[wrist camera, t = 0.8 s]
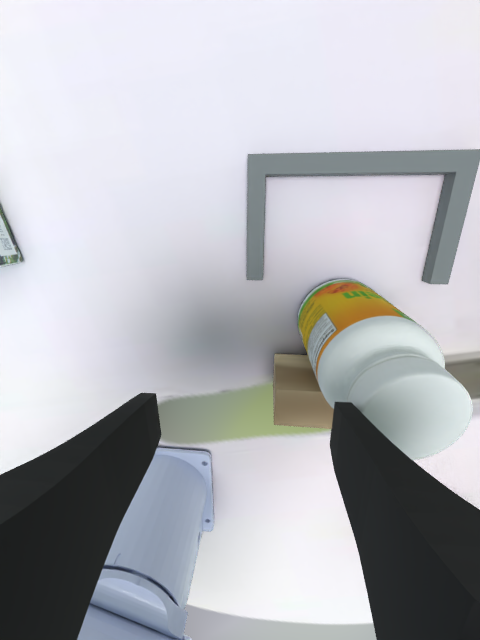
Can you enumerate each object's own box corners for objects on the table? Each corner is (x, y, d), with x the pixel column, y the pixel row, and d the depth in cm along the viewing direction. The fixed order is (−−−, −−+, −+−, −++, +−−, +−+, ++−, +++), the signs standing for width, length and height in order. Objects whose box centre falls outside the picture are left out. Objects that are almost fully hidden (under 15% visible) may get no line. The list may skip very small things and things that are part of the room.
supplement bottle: (393, 291, 18) (533, 381, 9) (355, 360, 20) (439, 487, 11) (315, 266, 18) (383, 335, 9) (284, 339, 20) (314, 456, 11)
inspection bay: (438, 280, 18) (448, 284, 17) (247, 276, 19) (246, 279, 18) (469, 153, 15) (482, 149, 14) (249, 157, 16) (247, 154, 16)
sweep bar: (384, 389, 20) (413, 434, 16) (273, 383, 21) (273, 424, 17) (390, 359, 20) (423, 397, 15) (274, 353, 20) (275, 389, 16)
